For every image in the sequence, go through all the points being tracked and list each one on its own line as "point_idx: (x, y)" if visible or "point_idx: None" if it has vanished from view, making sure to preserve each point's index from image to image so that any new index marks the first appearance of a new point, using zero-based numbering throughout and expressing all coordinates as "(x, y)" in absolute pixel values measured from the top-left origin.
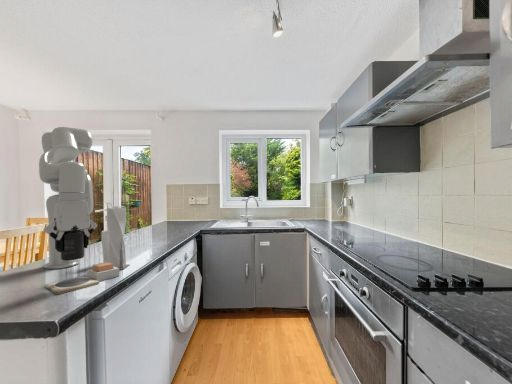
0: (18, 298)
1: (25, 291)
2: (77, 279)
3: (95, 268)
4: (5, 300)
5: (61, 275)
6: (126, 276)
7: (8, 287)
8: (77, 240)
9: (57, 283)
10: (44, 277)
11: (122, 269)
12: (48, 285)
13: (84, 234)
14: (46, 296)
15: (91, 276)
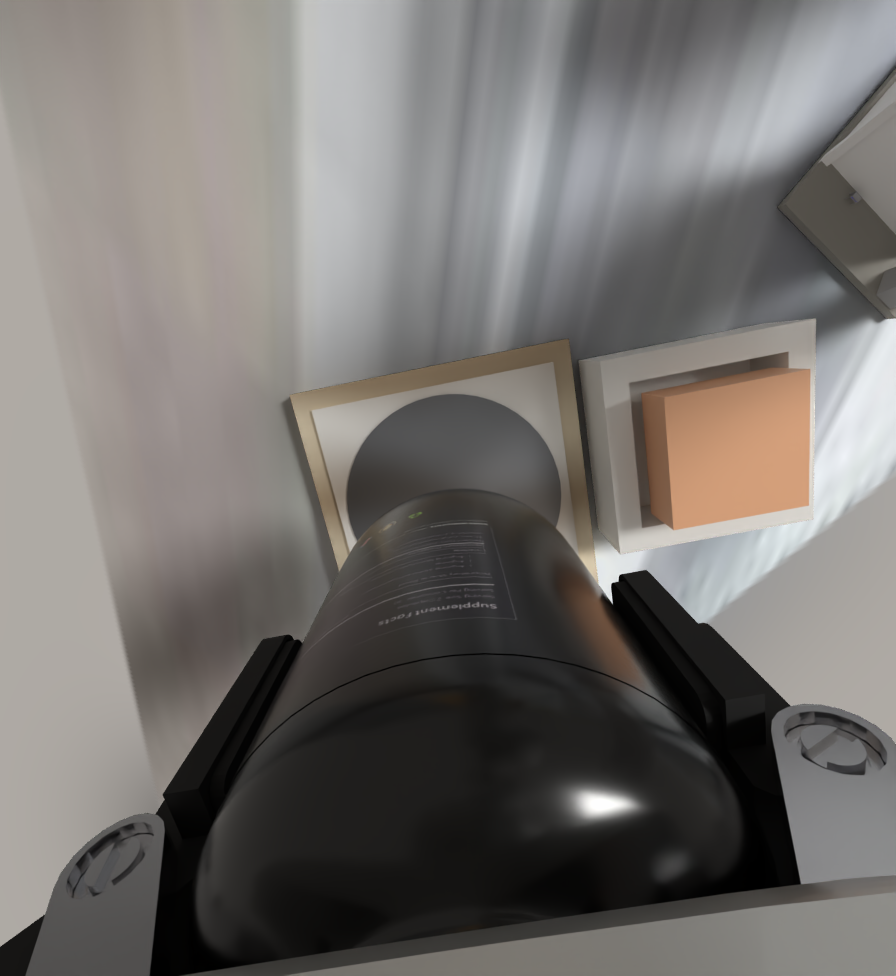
0: (164, 539)
1: (182, 407)
2: (495, 452)
3: (654, 447)
4: (101, 526)
5: (425, 60)
6: (795, 544)
7: (43, 172)
8: None
9: (363, 457)
10: (285, 8)
11: (886, 315)
12: (309, 437)
13: (781, 847)
14: (303, 614)
15: (595, 448)
